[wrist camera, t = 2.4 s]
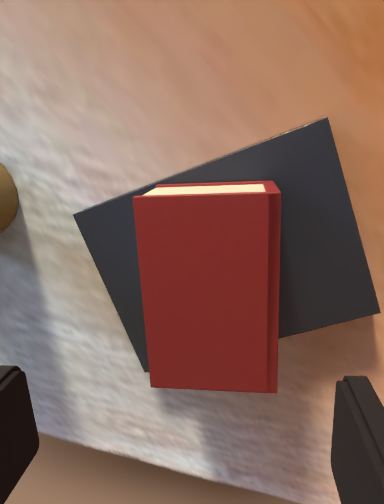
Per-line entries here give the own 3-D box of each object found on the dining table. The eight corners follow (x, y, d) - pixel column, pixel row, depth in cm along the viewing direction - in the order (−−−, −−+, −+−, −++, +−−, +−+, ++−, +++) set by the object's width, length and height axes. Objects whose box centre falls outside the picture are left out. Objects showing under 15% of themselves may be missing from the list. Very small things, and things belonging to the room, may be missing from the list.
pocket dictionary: (273, 180, 21) (281, 192, 16) (270, 343, 24) (277, 393, 19) (156, 184, 22) (132, 196, 17) (168, 340, 25) (150, 387, 20)
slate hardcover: (320, 119, 21) (327, 117, 20) (370, 299, 24) (380, 312, 22) (85, 209, 25) (72, 214, 23) (151, 356, 28) (144, 372, 26)
